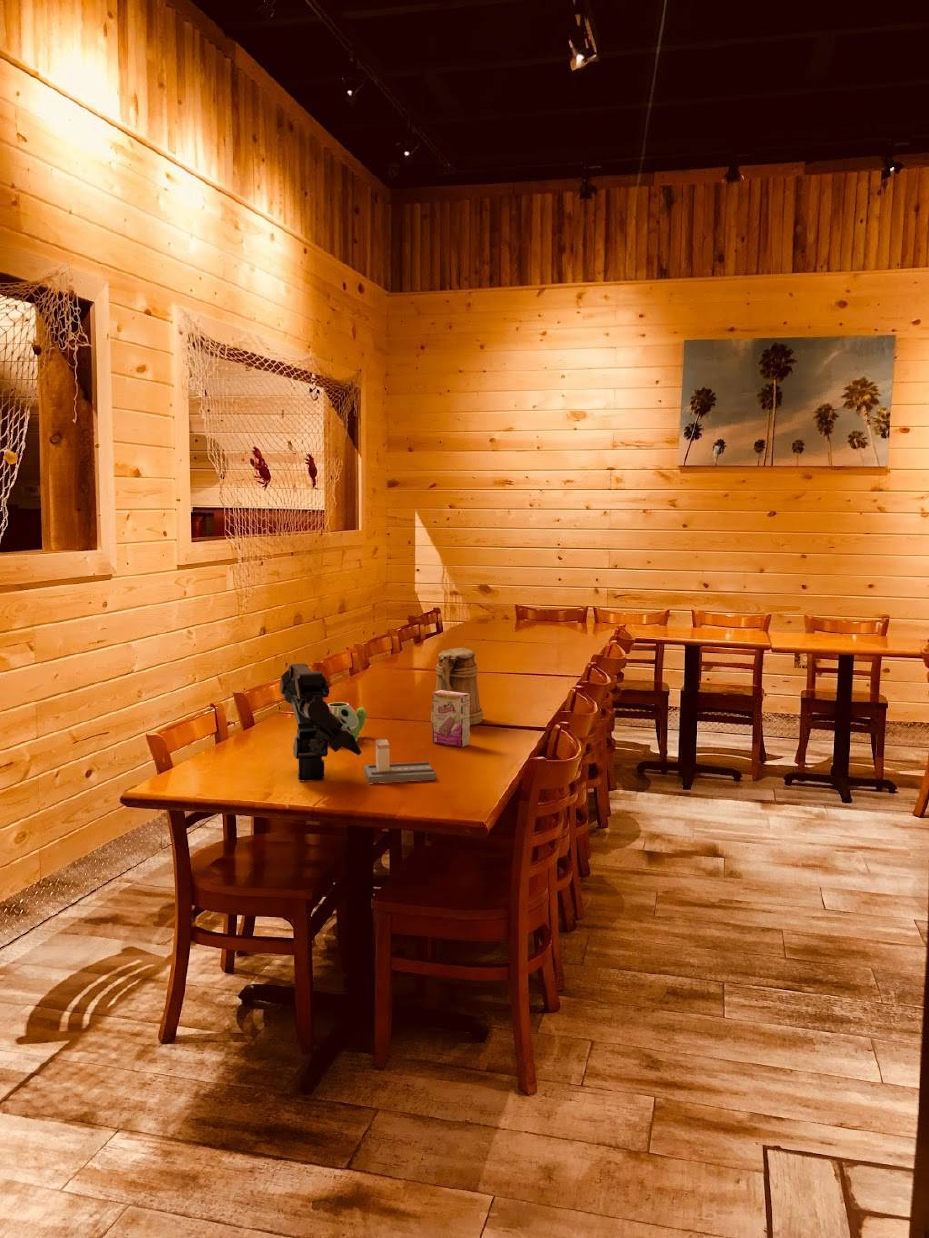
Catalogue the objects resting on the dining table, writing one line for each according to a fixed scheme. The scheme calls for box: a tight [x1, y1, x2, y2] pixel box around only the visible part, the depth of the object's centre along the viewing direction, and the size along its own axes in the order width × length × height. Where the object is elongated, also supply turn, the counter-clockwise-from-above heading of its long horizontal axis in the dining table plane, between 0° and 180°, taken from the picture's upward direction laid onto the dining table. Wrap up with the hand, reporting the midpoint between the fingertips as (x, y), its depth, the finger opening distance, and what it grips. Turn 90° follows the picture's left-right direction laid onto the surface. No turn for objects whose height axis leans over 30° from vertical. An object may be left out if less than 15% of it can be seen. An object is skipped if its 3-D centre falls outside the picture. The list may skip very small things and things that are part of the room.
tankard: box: [430, 647, 484, 727], centre depth 334 cm, size 18×24×25 cm
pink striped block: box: [375, 739, 391, 772], centre depth 268 cm, size 3×6×8 cm, turn 12°
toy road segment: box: [363, 761, 436, 783], centre depth 269 cm, size 18×12×3 cm, turn 102°
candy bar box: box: [432, 690, 471, 748], centre depth 305 cm, size 11×5×16 cm, turn 59°
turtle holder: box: [327, 701, 368, 743], centre depth 310 cm, size 12×18×12 cm
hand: (360, 753), depth 266 cm, fingers closed
